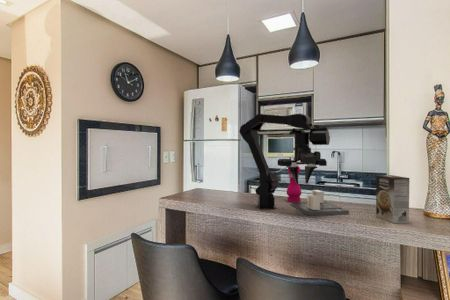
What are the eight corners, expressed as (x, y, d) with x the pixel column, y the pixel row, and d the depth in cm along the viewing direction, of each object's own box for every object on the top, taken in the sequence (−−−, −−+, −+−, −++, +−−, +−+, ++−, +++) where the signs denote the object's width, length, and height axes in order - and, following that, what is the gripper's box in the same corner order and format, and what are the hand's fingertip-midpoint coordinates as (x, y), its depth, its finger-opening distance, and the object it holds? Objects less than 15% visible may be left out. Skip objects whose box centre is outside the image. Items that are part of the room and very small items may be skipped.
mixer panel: (308, 215, 98) (308, 211, 98) (290, 204, 118) (290, 201, 117) (349, 214, 100) (349, 210, 100) (324, 203, 119) (324, 200, 119)
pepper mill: (302, 203, 121) (302, 161, 121) (286, 202, 123) (286, 161, 123) (300, 200, 129) (300, 160, 128) (286, 199, 130) (286, 160, 130)
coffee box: (375, 216, 97) (375, 174, 97) (390, 216, 97) (390, 174, 97) (392, 223, 88) (392, 177, 88) (410, 223, 88) (410, 177, 88)
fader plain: (317, 203, 113) (317, 191, 113) (312, 200, 118) (312, 190, 118) (323, 202, 113) (323, 191, 113) (318, 200, 118) (318, 189, 118)
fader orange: (312, 209, 100) (312, 197, 100) (307, 207, 105) (307, 195, 105) (320, 209, 100) (320, 197, 100) (314, 206, 105) (314, 194, 105)
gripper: (286, 144, 93) (286, 186, 93) (334, 144, 95) (334, 186, 95) (277, 145, 104) (277, 182, 104) (319, 145, 106) (319, 182, 106)
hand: (301, 183), depth 102 cm, fingers open, 4 cm apart
